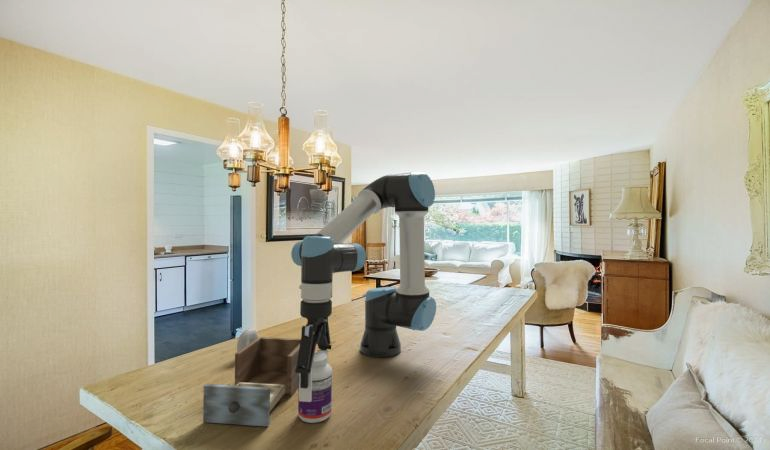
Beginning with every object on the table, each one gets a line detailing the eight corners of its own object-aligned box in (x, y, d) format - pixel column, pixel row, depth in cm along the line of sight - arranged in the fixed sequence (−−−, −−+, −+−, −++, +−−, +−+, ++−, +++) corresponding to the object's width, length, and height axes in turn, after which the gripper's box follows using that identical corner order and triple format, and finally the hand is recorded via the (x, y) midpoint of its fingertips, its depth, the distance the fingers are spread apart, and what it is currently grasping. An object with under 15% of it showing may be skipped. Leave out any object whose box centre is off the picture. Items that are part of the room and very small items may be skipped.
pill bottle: (300, 407, 88) (301, 350, 88) (332, 406, 89) (333, 350, 89) (295, 426, 80) (296, 363, 80) (330, 424, 81) (331, 362, 81)
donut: (243, 363, 115) (244, 333, 115) (234, 362, 116) (234, 332, 116) (260, 352, 125) (260, 325, 125) (251, 351, 126) (252, 324, 126)
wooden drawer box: (307, 374, 107) (308, 339, 107) (291, 397, 93) (291, 356, 93) (258, 372, 109) (258, 337, 109) (234, 393, 95) (235, 353, 95)
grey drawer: (289, 397, 93) (290, 365, 93) (265, 429, 78) (265, 392, 78) (234, 393, 94) (234, 362, 94) (200, 424, 79) (200, 388, 79)
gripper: (316, 290, 97) (314, 366, 97) (281, 310, 72) (278, 412, 72) (342, 291, 96) (340, 367, 96) (316, 312, 72) (313, 415, 71)
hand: (314, 387), depth 84 cm, fingers open, 13 cm apart
